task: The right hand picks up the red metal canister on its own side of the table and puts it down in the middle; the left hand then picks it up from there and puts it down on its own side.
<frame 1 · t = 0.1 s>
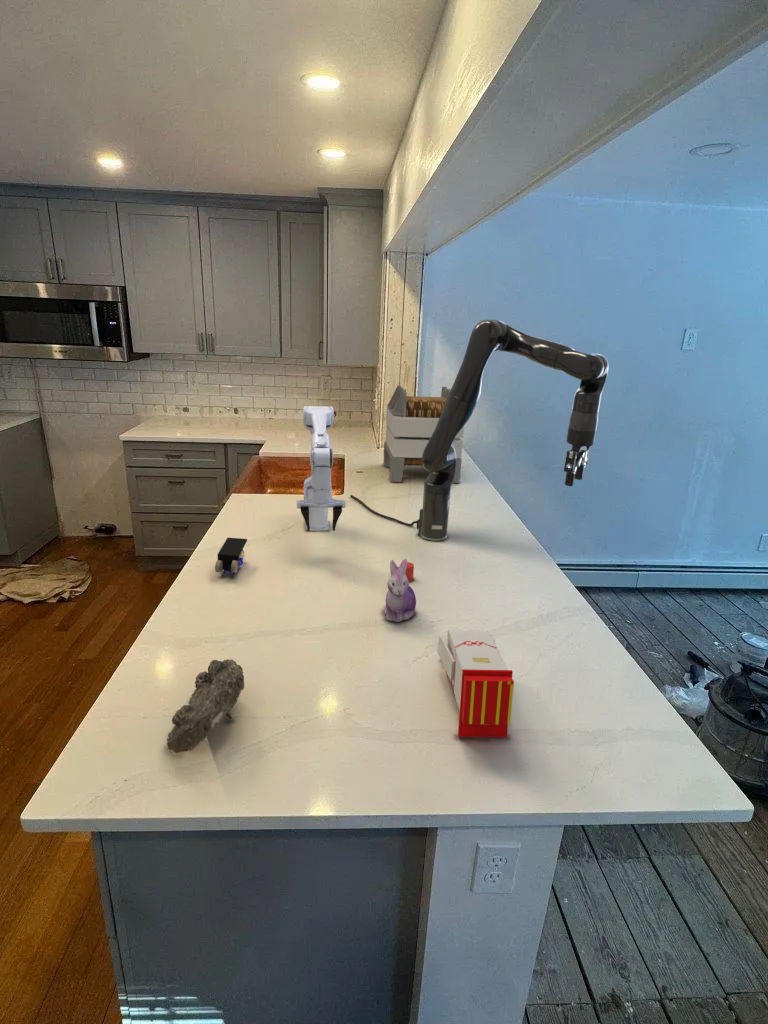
left hand: (321, 529, 174), 10 cm above the counter, tool pointing down, fingers open, 7 cm apart
right hand: (573, 482, 165), 29 cm above the counter, tool pointing down, fingers open, 8 cm apart
grey storage crate: (419, 473, 275), on the counter
figurine: (399, 614, 147), on the counter
canister: (406, 578, 167), on the counter
toy: (469, 691, 119), on the counter
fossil: (212, 717, 108), on the counter
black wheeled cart: (232, 569, 168), on the counter
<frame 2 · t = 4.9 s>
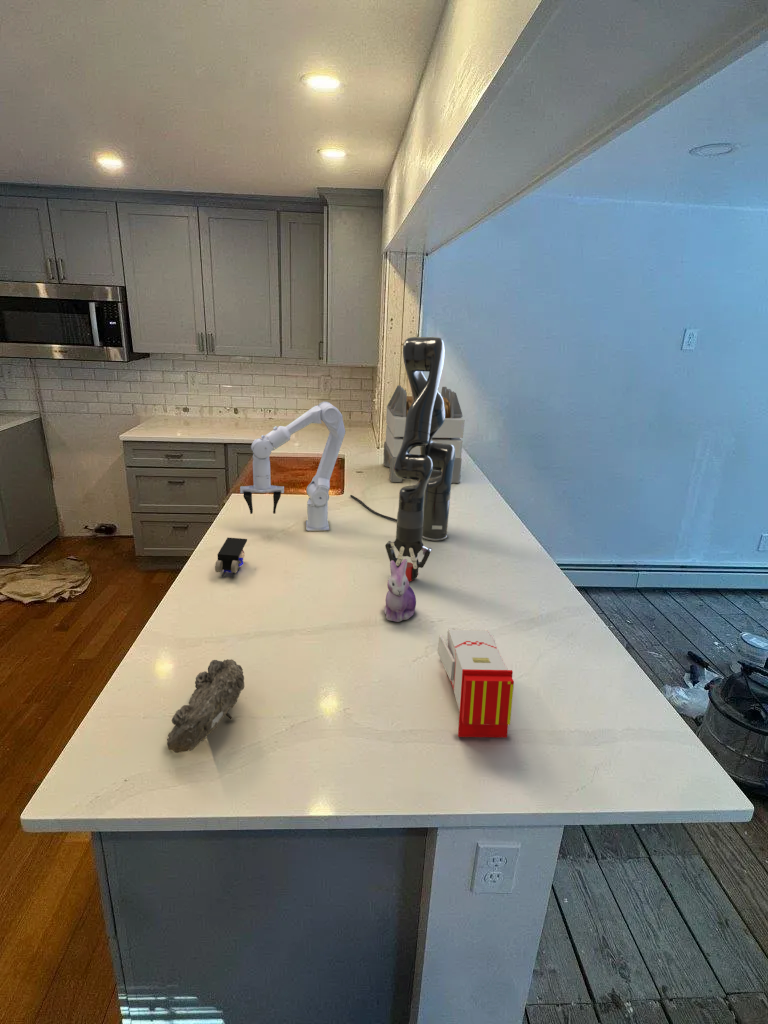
left hand: (263, 512, 195), 7 cm above the counter, tool pointing down, fingers open, 7 cm apart
right hand: (406, 577, 167), 1 cm above the counter, tool pointing down, fingers closed on canister, 3 cm apart
canister: (406, 578, 167), on the counter, touching right hand
everything else where it was.
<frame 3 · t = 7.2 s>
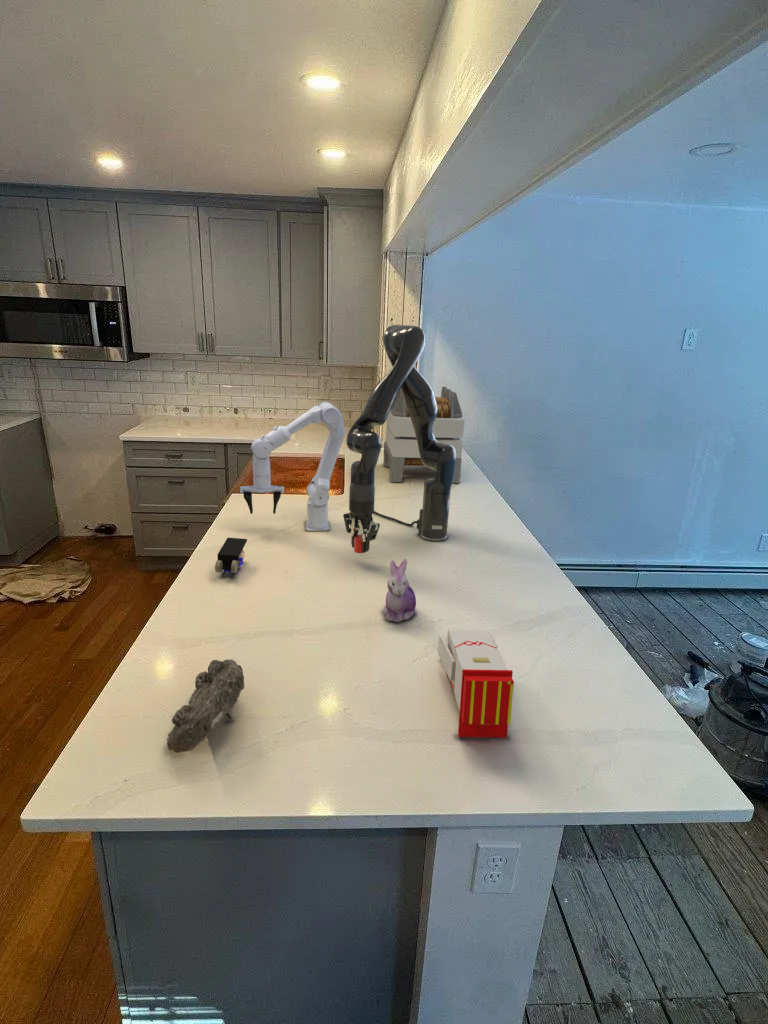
left hand: (263, 512, 195), 7 cm above the counter, tool pointing down, fingers open, 7 cm apart
right hand: (360, 549, 174), 5 cm above the counter, tool pointing down, fingers closed on canister, 3 cm apart
canister: (360, 550, 174), point 4 cm above the counter, touching right hand
everything else where it was.
when the right hand's fingers open (1 cm above the counter, at t = 9.7 s): canister stays where it is, on the counter.
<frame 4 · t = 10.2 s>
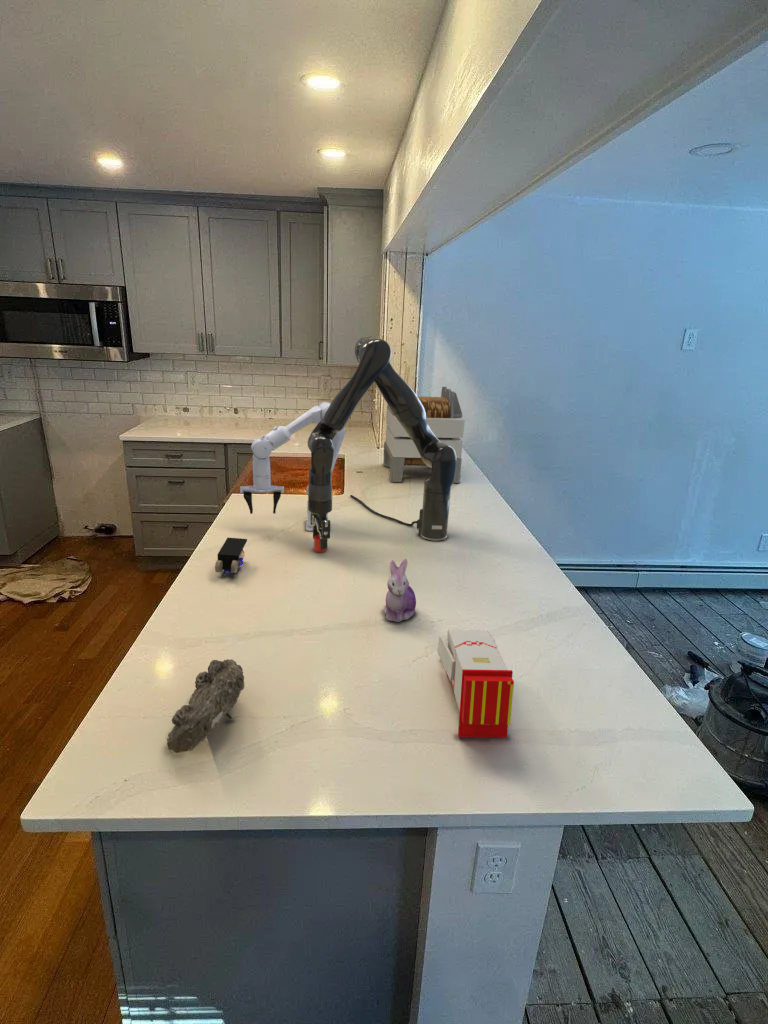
left hand: (263, 512, 195), 7 cm above the counter, tool pointing down, fingers open, 7 cm apart
right hand: (320, 544, 183), 2 cm above the counter, tool pointing down, fingers open, 8 cm apart
canister: (319, 549, 184), on the counter
everything else where it was.
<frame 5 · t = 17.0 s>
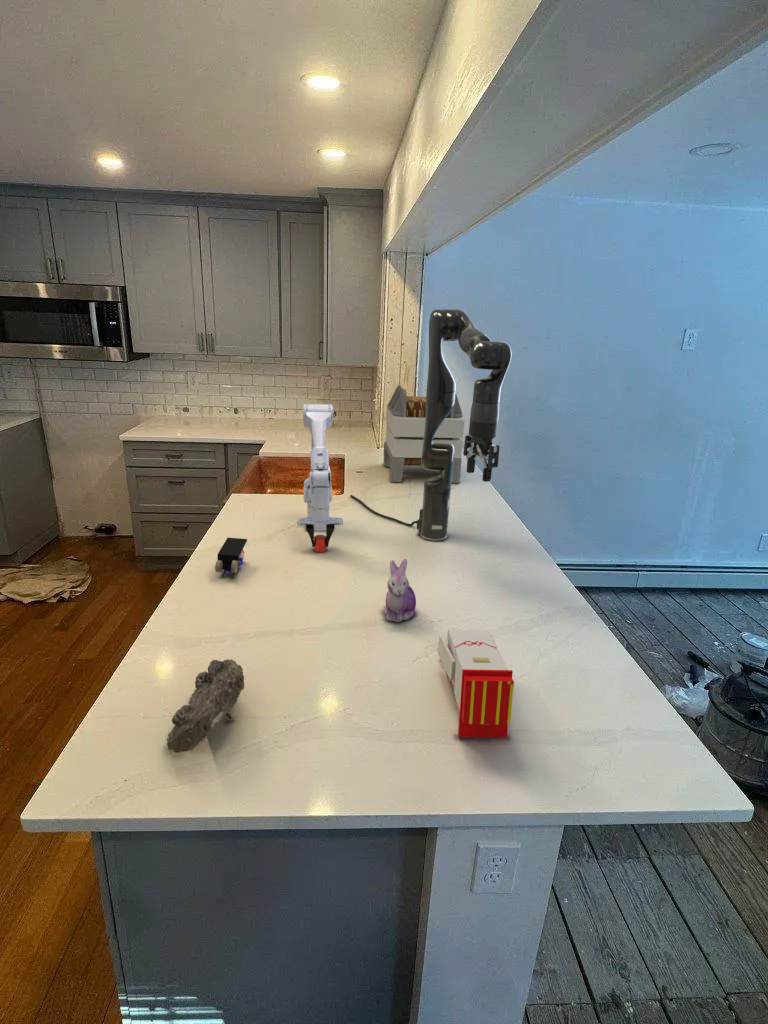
left hand: (320, 545, 183), 1 cm above the counter, tool pointing down, fingers closed on canister, 4 cm apart
right hand: (478, 476, 158), 32 cm above the counter, tool pointing down, fingers open, 8 cm apart
canister: (320, 549, 184), on the counter, touching left hand
everything else where it was.
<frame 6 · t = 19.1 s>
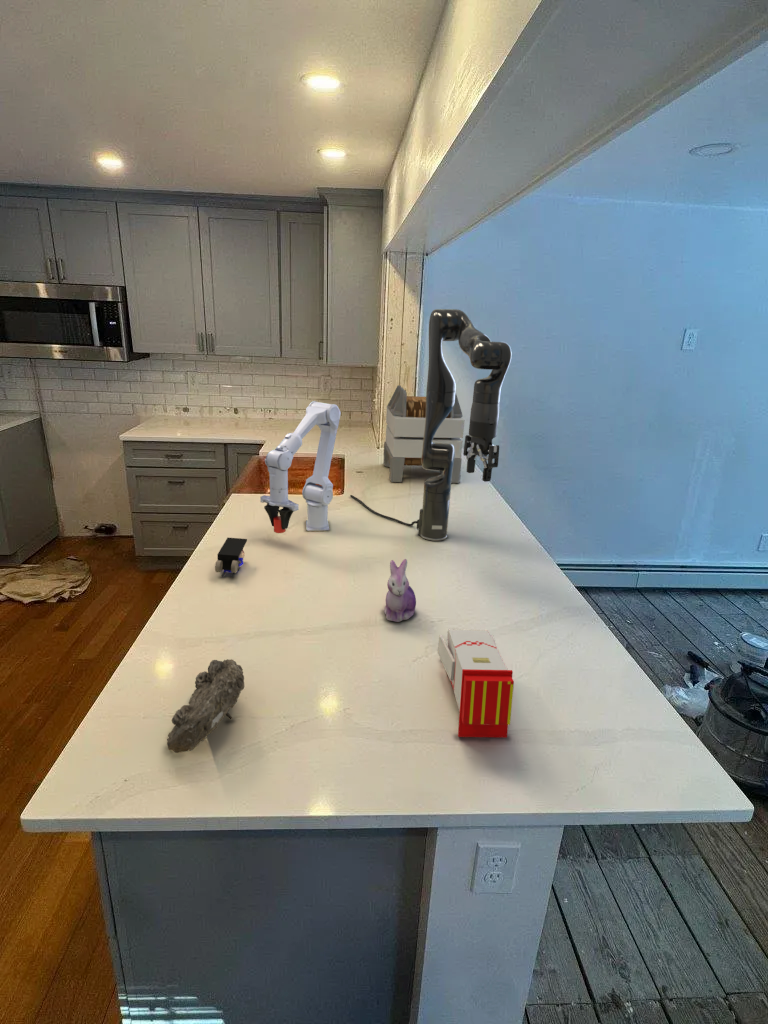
left hand: (279, 526, 186), 6 cm above the counter, tool pointing down, fingers closed on canister, 4 cm apart
right hand: (478, 476, 158), 32 cm above the counter, tool pointing down, fingers open, 8 cm apart
canister: (279, 531, 186), point 4 cm above the counter, touching left hand
everything else where it was.
when the left hand's fingers open (2 cm above the counter, at t = 21.2 s): canister stays where it is, on the counter.
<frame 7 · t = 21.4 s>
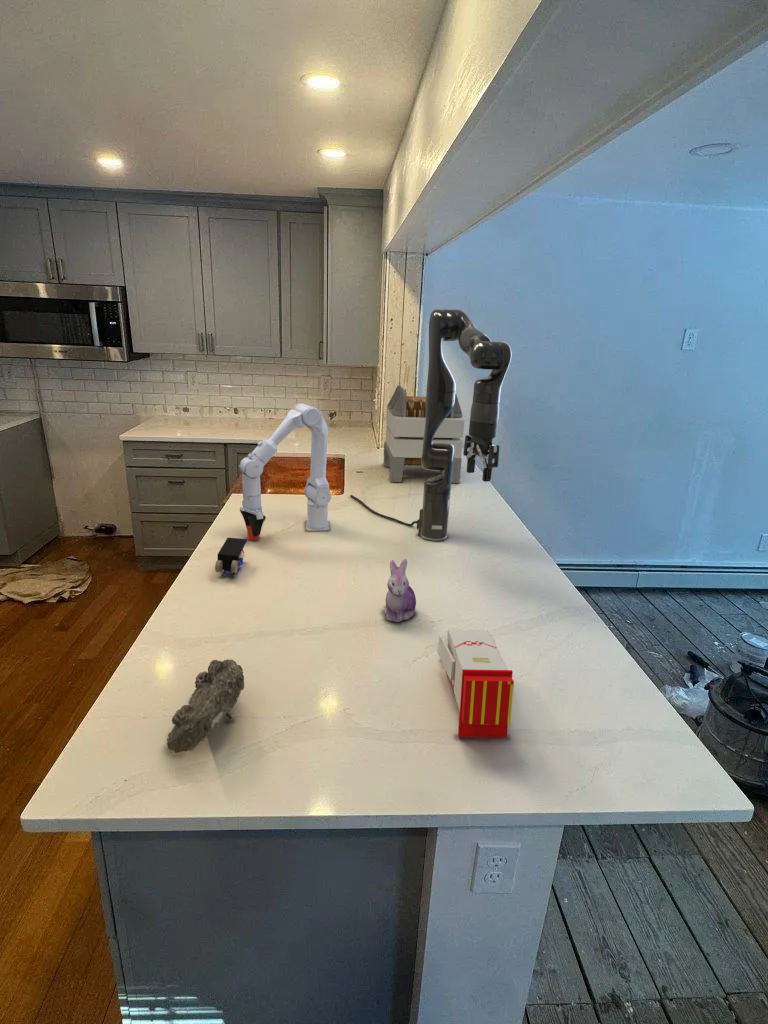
left hand: (253, 532, 190), 2 cm above the counter, tool pointing down, fingers open, 5 cm apart
right hand: (478, 476, 158), 32 cm above the counter, tool pointing down, fingers open, 8 cm apart
canister: (253, 538, 191), on the counter
everything else where it was.
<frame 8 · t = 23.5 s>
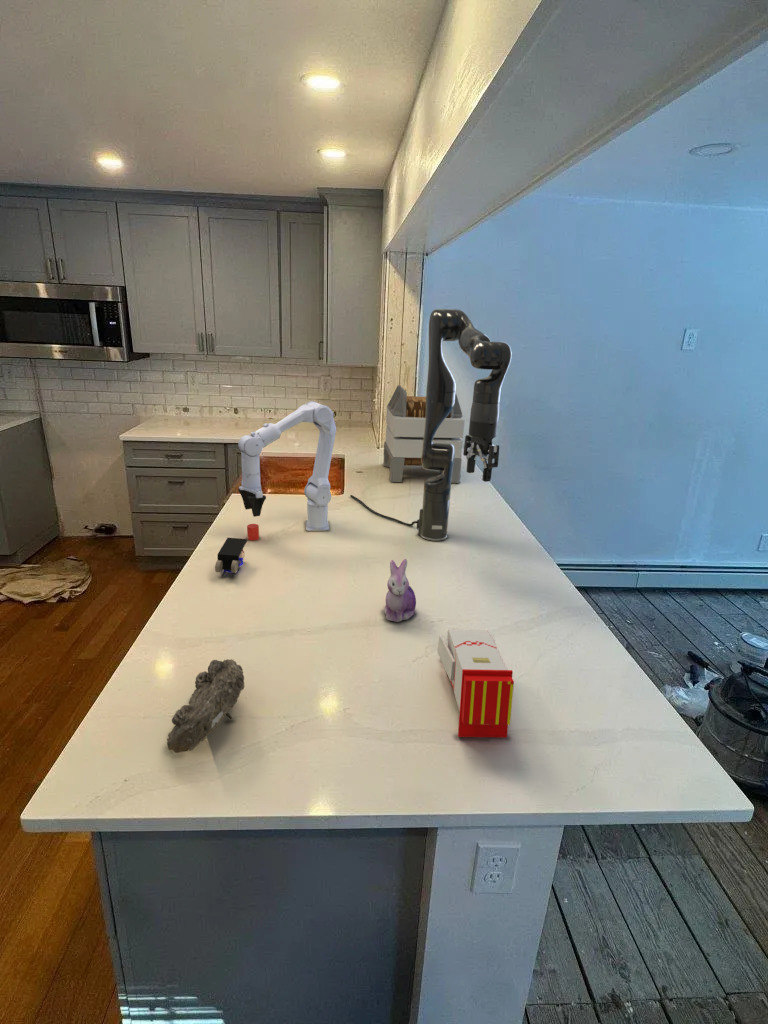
left hand: (252, 512, 187), 9 cm above the counter, tool pointing down, fingers open, 7 cm apart
right hand: (478, 476, 158), 32 cm above the counter, tool pointing down, fingers open, 8 cm apart
nothing on the counter moved.
at the end: canister inside the target area (0.1 cm from its centre), on the counter; canister tilted 0°; the two hands never held the canister at the same time; the left hand is holding nothing; the right hand is holding nothing; canister at rest at the end (0.0 cm/s) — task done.
